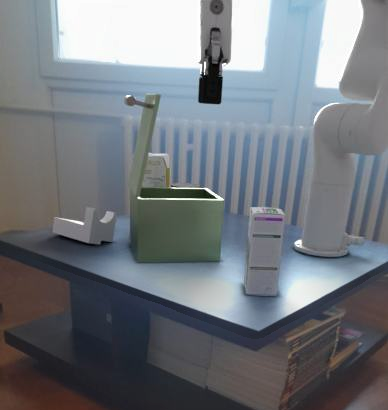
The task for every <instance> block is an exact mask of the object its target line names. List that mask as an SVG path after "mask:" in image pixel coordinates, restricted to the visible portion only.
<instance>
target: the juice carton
mask: <svg viewBox="0 0 388 410" xmlns="http://www.w3.org/2000/svg"><path fill="white" fill-rule="evenodd" d="M131 156H132V157H131V163H130V168H131V167H132V162H133V157H134V153H132V155H131ZM142 187H159V188H171V160H170V155H169V153H152V152H149V154H148V159H147V164H146V169H145V173H144V178H143V183H142Z"/></svg>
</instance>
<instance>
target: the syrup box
mask: <svg viewBox="0 0 388 410" xmlns="http://www.w3.org/2000/svg"><path fill="white" fill-rule="evenodd" d="M248 219H249V220H248V228H247V241H246V251H245V252H246V253H245V265H244V276H243V287H244V291H245V292H244V293H245V295H249V296H259V297H260V296H261V297H262V296H263V297H277V295H278V287H279V279H280V271H281V262H282V253H283V252H282V251H283V244H284V243H283V241H284V233H285V225H286V214H285V212H284V211H283V209H282V208H279V207H271V206H254V207H253V206H250V208H249V216H248Z"/></svg>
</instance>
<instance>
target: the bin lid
mask: <svg viewBox="0 0 388 410" xmlns="http://www.w3.org/2000/svg"><path fill="white" fill-rule="evenodd" d="M161 98H162V95H161V94H159V93H146V94H145V98H144V102H143V101H142V100H141V101H140V100H137V99H136V97H135V96H134V95H126V96H124V98H123V102H124V104H125V105H126V106H129V107H134V106H138V107H142V113H141V117H140V122H139V128H138V133H137V138H136V143H135V147H134V152H133V154H134V157H133V162H132V161H131V162H132V167H131V166H130V172H129V177H128V183H127V186H128V187H129V189H130V188H131V190H132V191H133V193H134V195H135V196H137V197H140V192H141V187H142V183H143V178H144V173H145V169H146V164H147V159H148V154H149V153H150V149H151V144H152V140H153V135H154V131H155V126H156V121H157V115H158V112H159V111H158V110H159V106H160V101H161Z"/></svg>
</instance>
